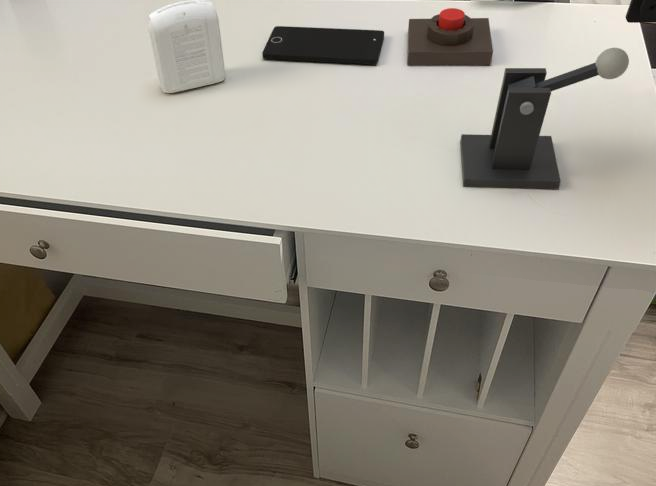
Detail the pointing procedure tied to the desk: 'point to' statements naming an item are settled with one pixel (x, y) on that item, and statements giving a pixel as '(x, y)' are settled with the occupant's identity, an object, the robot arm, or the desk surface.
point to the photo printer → (186, 45)
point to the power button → (451, 19)
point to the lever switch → (583, 71)
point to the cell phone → (324, 45)
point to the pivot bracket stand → (513, 140)
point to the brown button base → (449, 43)
